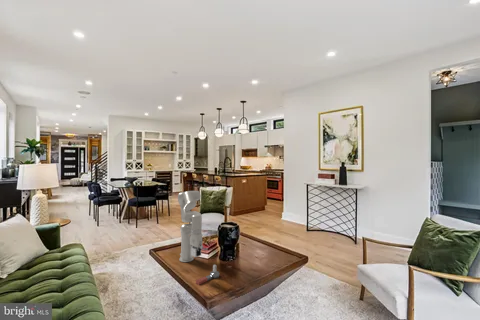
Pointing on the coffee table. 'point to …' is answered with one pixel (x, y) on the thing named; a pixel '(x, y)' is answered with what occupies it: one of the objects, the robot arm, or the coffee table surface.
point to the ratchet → (212, 275)
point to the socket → (194, 251)
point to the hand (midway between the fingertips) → (196, 254)
